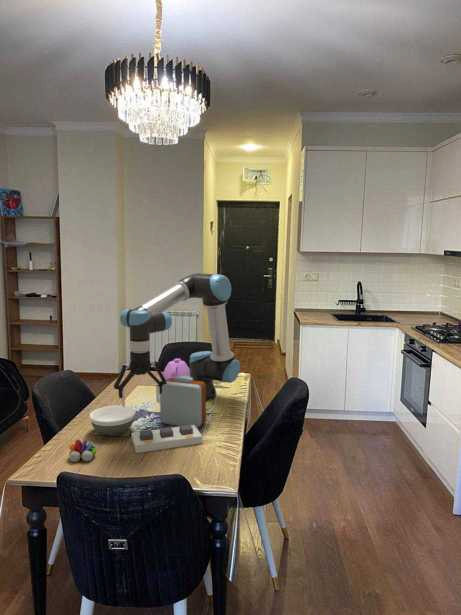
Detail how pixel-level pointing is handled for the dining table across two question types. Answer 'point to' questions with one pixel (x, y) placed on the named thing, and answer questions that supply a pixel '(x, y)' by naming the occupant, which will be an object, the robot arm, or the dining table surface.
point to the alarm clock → (183, 402)
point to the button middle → (166, 432)
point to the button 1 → (146, 435)
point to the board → (166, 440)
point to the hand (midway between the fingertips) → (140, 403)
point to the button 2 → (186, 429)
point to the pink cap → (176, 369)
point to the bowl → (112, 419)
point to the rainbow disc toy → (81, 451)
